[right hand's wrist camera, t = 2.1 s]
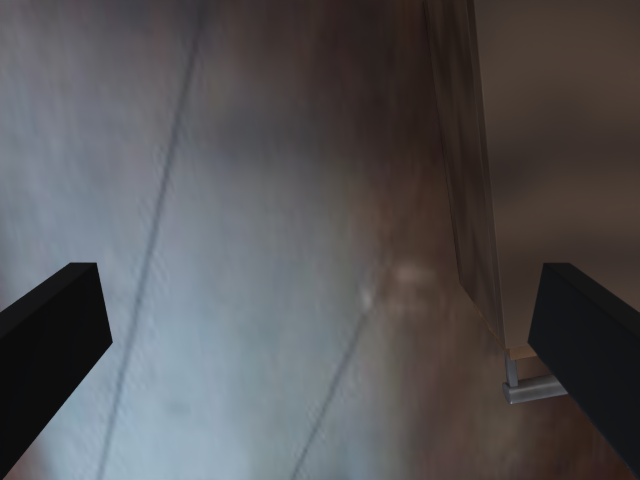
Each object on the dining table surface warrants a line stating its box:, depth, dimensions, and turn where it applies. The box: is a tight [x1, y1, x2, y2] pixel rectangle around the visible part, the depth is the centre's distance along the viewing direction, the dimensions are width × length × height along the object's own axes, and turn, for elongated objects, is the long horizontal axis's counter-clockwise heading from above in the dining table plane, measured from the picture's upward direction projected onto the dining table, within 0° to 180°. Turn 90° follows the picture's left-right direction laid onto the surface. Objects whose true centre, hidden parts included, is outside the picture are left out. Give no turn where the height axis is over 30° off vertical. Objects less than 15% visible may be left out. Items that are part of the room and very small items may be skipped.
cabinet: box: [423, 0, 640, 348], centre depth 26 cm, size 21×11×9 cm, turn 13°
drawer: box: [473, 302, 568, 404], centre depth 28 cm, size 25×10×7 cm, turn 13°
